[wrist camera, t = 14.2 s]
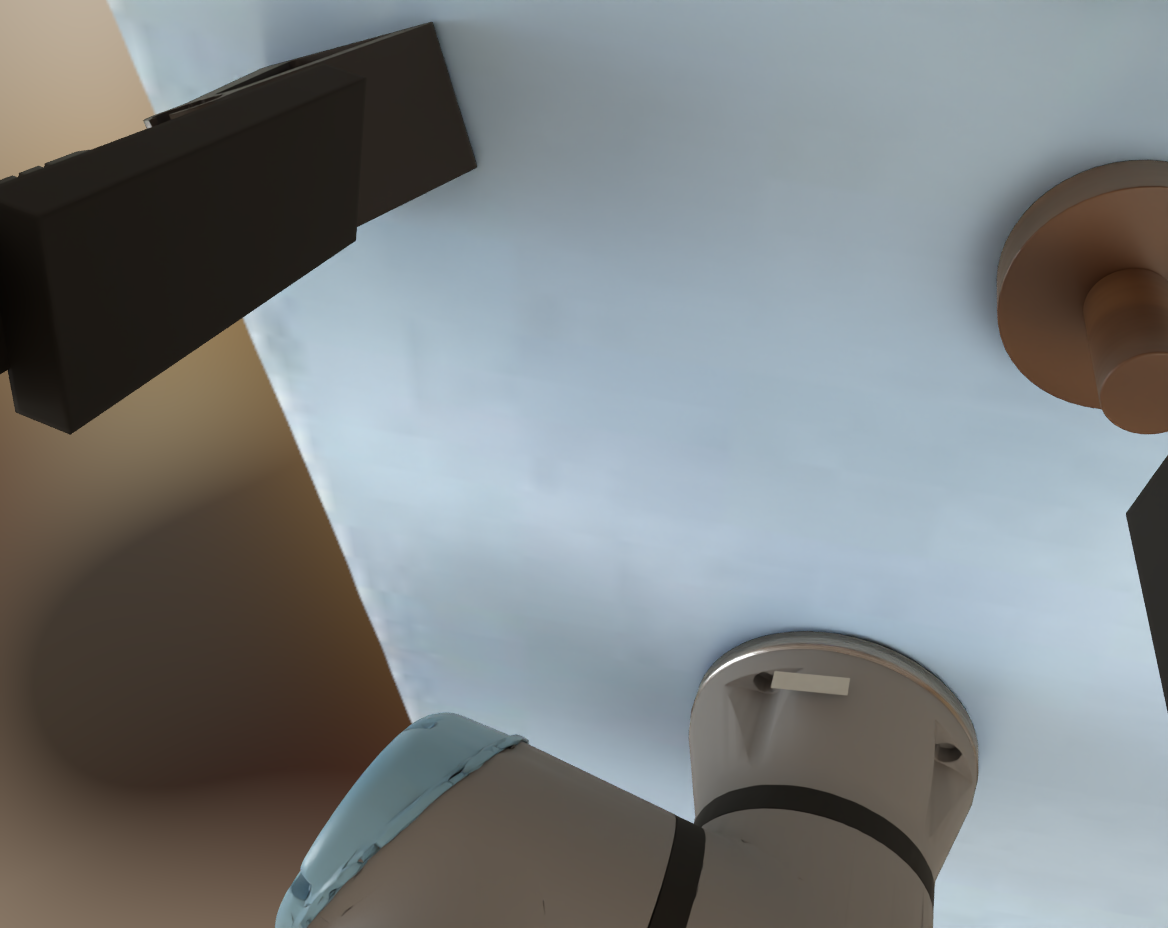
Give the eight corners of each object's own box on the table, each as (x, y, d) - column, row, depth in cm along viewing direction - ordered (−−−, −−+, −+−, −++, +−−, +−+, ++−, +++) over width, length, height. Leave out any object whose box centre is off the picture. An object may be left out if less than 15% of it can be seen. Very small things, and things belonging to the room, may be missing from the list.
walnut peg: (1171, 401, 38) (1216, 546, 31) (960, 332, 39) (954, 457, 32) (1307, 200, 33) (1400, 317, 26) (1060, 129, 34) (1080, 221, 27)
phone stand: (315, 197, 46) (143, 299, 37) (264, 65, 43) (63, 140, 34) (480, 166, 42) (336, 271, 33) (436, 20, 39) (265, 89, 30)
